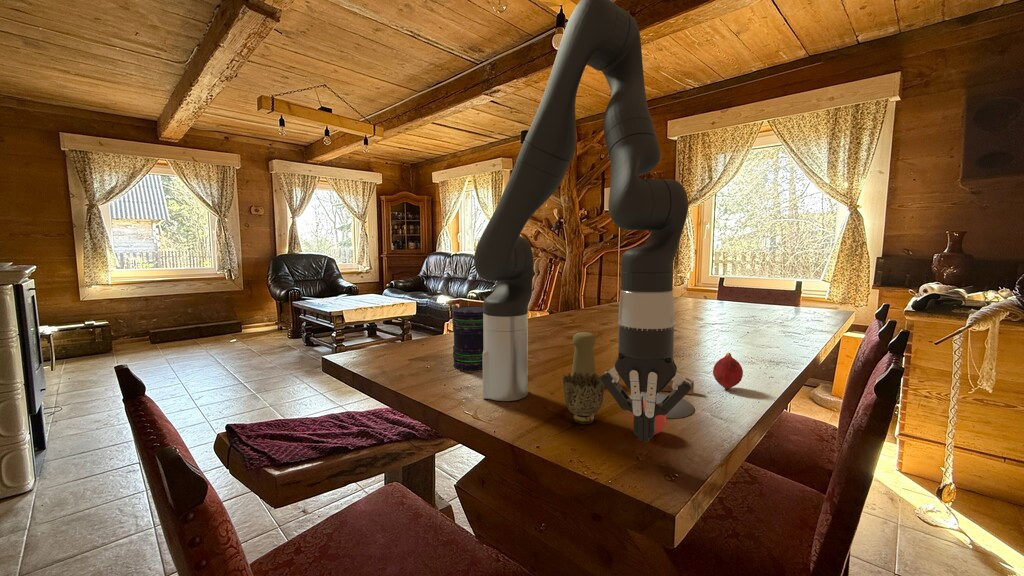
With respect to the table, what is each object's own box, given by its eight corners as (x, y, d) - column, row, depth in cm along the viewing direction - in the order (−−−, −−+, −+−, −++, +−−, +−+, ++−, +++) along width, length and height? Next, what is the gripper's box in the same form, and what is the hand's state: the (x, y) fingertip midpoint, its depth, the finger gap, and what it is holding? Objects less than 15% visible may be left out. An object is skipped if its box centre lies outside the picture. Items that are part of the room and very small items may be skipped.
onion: (745, 394, 90) (747, 357, 90) (716, 392, 92) (718, 355, 91) (737, 385, 96) (739, 350, 95) (709, 383, 97) (711, 349, 96)
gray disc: (634, 418, 78) (634, 417, 78) (616, 393, 91) (616, 392, 91) (706, 418, 78) (706, 417, 78) (678, 393, 91) (678, 392, 91)
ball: (636, 441, 69) (637, 407, 69) (627, 426, 75) (628, 395, 74) (670, 441, 69) (672, 407, 69) (659, 426, 75) (660, 395, 74)
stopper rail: (693, 392, 92) (693, 380, 92) (693, 394, 90) (693, 382, 90) (635, 384, 97) (635, 373, 97) (634, 386, 95) (634, 375, 95)
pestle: (567, 381, 99) (568, 334, 98) (573, 374, 105) (574, 329, 104) (593, 384, 97) (594, 336, 96) (598, 377, 102) (599, 331, 101)
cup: (558, 413, 80) (559, 371, 79) (597, 412, 81) (598, 370, 80) (567, 431, 73) (567, 385, 72) (609, 429, 74) (610, 383, 73)
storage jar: (457, 360, 117) (456, 305, 116) (493, 361, 116) (493, 306, 115) (448, 371, 107) (447, 311, 106) (487, 372, 106) (487, 312, 105)
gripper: (697, 320, 62) (693, 436, 64) (605, 315, 68) (604, 422, 69) (695, 329, 55) (692, 459, 57) (593, 323, 61) (593, 442, 62)
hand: (643, 439), depth 63 cm, fingers closed
